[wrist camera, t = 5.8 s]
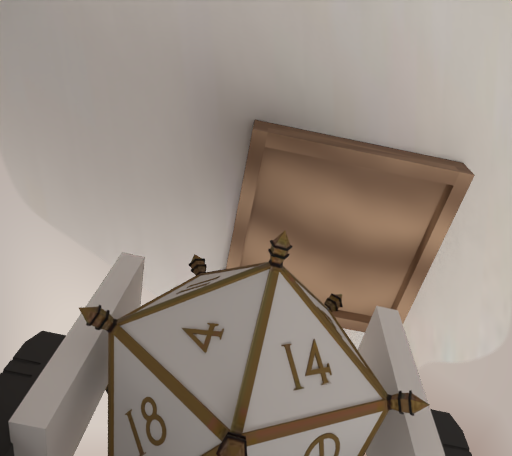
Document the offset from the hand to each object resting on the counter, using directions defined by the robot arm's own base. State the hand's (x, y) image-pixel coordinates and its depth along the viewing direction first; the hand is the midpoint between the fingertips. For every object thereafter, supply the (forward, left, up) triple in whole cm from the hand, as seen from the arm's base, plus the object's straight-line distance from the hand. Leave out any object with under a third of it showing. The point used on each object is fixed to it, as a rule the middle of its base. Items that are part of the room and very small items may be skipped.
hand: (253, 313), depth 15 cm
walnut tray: (+6, +6, -18) cm, 20 cm away
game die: (0, 0, -1) cm, 1 cm away
